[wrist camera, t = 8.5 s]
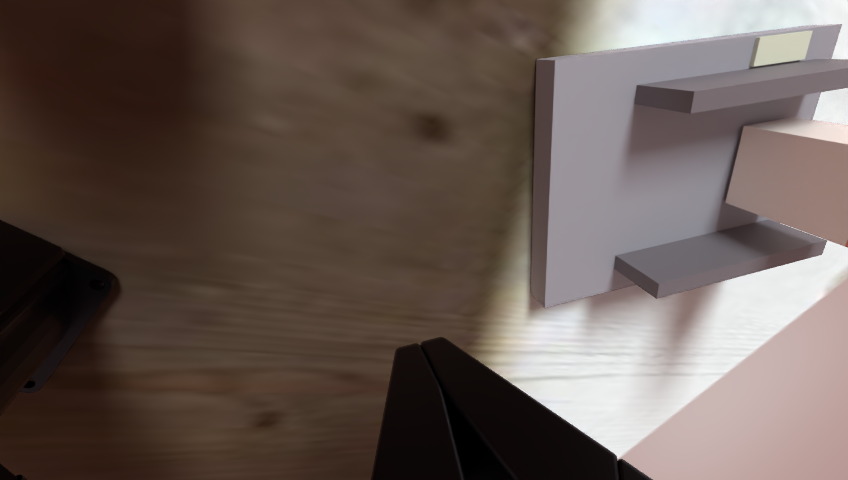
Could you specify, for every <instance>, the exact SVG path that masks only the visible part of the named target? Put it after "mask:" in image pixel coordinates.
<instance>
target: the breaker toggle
mask: <svg viewBox="0 0 848 480" xmlns="http://www.w3.org/2000/svg"><path fill="white" fill-rule="evenodd" d="M725 203H727V204H730V205H733V206H736V207H738V208H741V209H744V210H747V211H749V212H752V213H755V214H757V215H760V216H763V217H766V218H768V219H771V220H774V221H777V222H779V223H782V224H785V225H788V226H790V227H793V228H796V229H799V230H801V231H804V232H807V233H810V234H812V235H815V236H818V237H821V238H823V239H826V240H829V241H832V242H834V243H837V244H840V245H843V246H845V247H848V125H844V124H836V123H829V122H822V121H815V120H808V119H801V118H794V117H791V118H785V119H780V120H774V121H768V122H763V123H757V124H752V125H746V126H744V127H743V131H742V136H741V140H740V144H739V148H738V152H737V156H736V160H735V165H734V169H733V173H732V177H731V181H730V185H729V189H728V194H727V198H726V202H725Z"/></svg>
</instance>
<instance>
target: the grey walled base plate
mask: <svg viewBox="0 0 848 480" xmlns="http://www.w3.org/2000/svg"><path fill="white" fill-rule="evenodd" d="M841 26H842V24H836V25H812V26H801V27H793V28H785V29H777V30H769V31H761V32H753V33H745V34H737V35H729V36H721V37H713V38H704V39H696V40H688V41H680V42H672V43H664V44H656V45H648V46H640V47H632V48H624V49H616V50H608V51H600V52H592V53H584V54H576V55H567V56H559V57H551V58H543V59H536V93H535V136H534V178H533V221H532V263H531V294H532V295H533V296H534V297H535V298H536V299H537V300H538V301H539V302H540V303H541V304H542V305H543V307H544V308H546V307H550V306H554V305H558V304H562V303H566V302H570V301H573V300H577V299H581V298H585V297H589V296H593V295H597V294H601V293H605V292H609V291H613V290H617V289H620V288H624V287H628V286H632V285H638V286H639V287H641V288H642V289H644V290H645V291H646V292H648V293H649V294H651V295H652V296H654V297H655V298H656V299H657V298H661V297H665V296H668V295H672V294H676V293H680V292H683V291H687V290H691V289H695V288H698V287H702V286H706V285H710V284H713V283H717V282H721V281H725V280H728V279H732V278H736V277H740V276H743V275H747V274H751V273H755V272H758V271H762V270H766V269H770V268H773V267H777V266H781V265H785V264H788V263H792V262H796V261H800V260H803V259H807V258H811V257H815V256H818V255H822V253H823V250H824V248H825V245H826V242H827V240H824V239H821V238H818V237H816V236H813V235H810V234H807V233H805V232H802V231H799V230H796V229H794V228H791V227H788V226H786V225H783V224H780V223H779V222H777V221H774V220H771V219H768V218H766V217H763V216H760V215H757V214H755V213H752V212H749V211H747V210H744V209H741V208H738V207H736V206H733V205H730V204H727V203H725V202H726V198H727V194H728V189H729V185H730V181H731V177H732V173H733V169H734V165H735V160H736V156H737V152H738V148H739V144H740V140H741V136H742V131H743V127H744V126H746V125H752V124H757V123H763V122H768V121H774V120H780V119H785V118H791V117H794V118H801V119H808V120H812V119H813V116H814V113H815V109H816V106H817V103H818V100H819V97H820V93H821V92H824V91H830V90H836V89H842V88H848V60H838V59H831V58H832V55H833V52H834V48H835V45H836V42H837V39H838V36H839V32H840V29H841Z"/></svg>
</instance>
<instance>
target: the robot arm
mask: <svg viewBox="0 0 848 480" xmlns="http://www.w3.org/2000/svg"><path fill="white" fill-rule="evenodd" d="M94 279H98V280H101V281H102V282H103V283H104V285H102V286H101V285H97V284H96V283H94ZM115 282H116V281H115V277H114V276H113V274H112V273H110V272H109V271H107V270H105V269H103V268H101V267H98V266H96V265H94V264H92V263H90V262H87V261H85V260H83V259H81V258H78V257H76V256H74V255H72V254H70V253H67V252H65V251H63V250H62V249H61V248H60V247H58V246H56V245H54V244H52V243H50V242H47V241H45V240H43V239H41V238H39V237H36V236H34V235H32V234H30V233H28V232H25V231H23V230H21V229H19V228H17V227H14V226H12V225H10V224H8V223H6V222H3V221H1V220H0V415H1V414H2V413H3V412H4V410H5V409H6V408H7V407H8V405H9V404H10V403H11V402H12V400H13V399H14V398H15V397H16V395H17V394H18V393H19V392H25V393H32V392H36V391H38V390H40V389H41V388H42V387H43V385H44V384H45V383H46V381H47V380H48V378H49V377H50V376H51V374H52V373H53V371H54V370H55V369H56V367H57V366H58V364H59V363H60V362H61V360H62V359H63V357H64V356H65V354H66V353H67V352H68V350H69V349H70V347H71V346H72V345H73V343H74V342H75V340H76V339H77V338H78V336H79V335H80V333H81V332H82V331H83V329H84V328H85V326H86V325H87V323H88V322H89V321H90V319H91V318H92V316H93V315H94V314H95V312H96V311H97V309H98V308H99V307H100V305H101V304H102V302H103V301H104V300H105V298H106V297H107V295H108V294H109V292H110V291H111V290H112V288H113V287H114V285H115ZM29 379H32V380H34V382H33V381H29ZM0 480H27V479H26V478H25V477H23V476H22V475H16V476H15V475H14V474H13V473H11V472H10V471H9V470H8V469H7V468H5V467H4V466H3V465H2V464H0ZM371 480H653V479H651V478H649V477H648V476H646V475H645V474H644V473H642V472H640V471H639V470H638V469H636V468H635V467H633V466H632V465H630V464H629V463H627V462H626V461H625V460H623V459H619V460H618V461H617V456H616V455H615V454H614V453H612V452H611V451H609V450H608V449H607V448H605V447H604V446H602V445H601V444H599V443H598V442H596V441H595V440H593V439H592V438H590V437H589V436H588V435H586V434H585V433H583V432H582V431H580V430H579V429H577V428H576V427H574V426H573V425H571V424H570V423H568V422H567V421H566V420H564V419H563V418H561V417H560V416H558V415H557V414H555V413H554V412H552V411H551V410H549V409H548V408H547V407H545V406H544V405H542V404H541V403H539V402H538V401H536V400H535V399H533V398H532V397H530V396H529V395H527V394H526V393H525V392H523V391H522V390H520V389H519V388H517V387H516V386H514V385H513V384H511V383H510V382H508V381H507V380H505V379H504V378H503V377H501V376H500V375H498V374H497V373H495V372H494V371H492V370H491V369H489V368H488V367H486V366H485V365H484V364H482V363H481V362H479V361H478V360H476V359H475V358H473V357H472V356H470V355H469V354H467V353H466V352H464V351H463V350H462V349H460V348H459V347H457V346H456V345H454V344H453V343H451V342H450V341H448V340H447V339H445V338H443V337H438V338H434V339H430V340H426V341H423V342H422V343H421V345H419V344H417V343H414V344H410V345H406V346H403V347H399V348H397V349H396V351H395V356H394V361H393V367H392V372H391V377H390V382H389V388H388V393H387V398H386V403H385V409H384V414H383V419H382V424H381V430H380V435H379V440H378V445H377V451H376V456H375V461H374V466H373V472H372V477H371Z"/></svg>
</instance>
